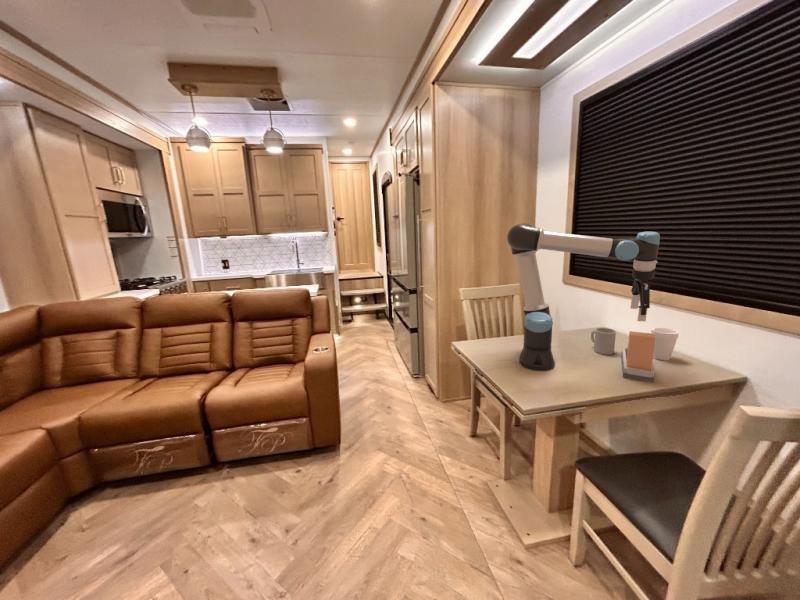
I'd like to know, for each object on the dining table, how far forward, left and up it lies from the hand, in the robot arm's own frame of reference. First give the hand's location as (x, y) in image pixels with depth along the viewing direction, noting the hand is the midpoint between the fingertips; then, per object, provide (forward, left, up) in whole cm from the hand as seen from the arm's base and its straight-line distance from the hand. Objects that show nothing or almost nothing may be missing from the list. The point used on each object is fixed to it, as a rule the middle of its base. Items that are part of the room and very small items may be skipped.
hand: (637, 314), depth 142 cm
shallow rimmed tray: (-9, -6, -21) cm, 24 cm away
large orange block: (-16, -10, -19) cm, 27 cm away
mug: (-1, +14, -22) cm, 26 cm away
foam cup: (+12, -6, -22) cm, 26 cm away
